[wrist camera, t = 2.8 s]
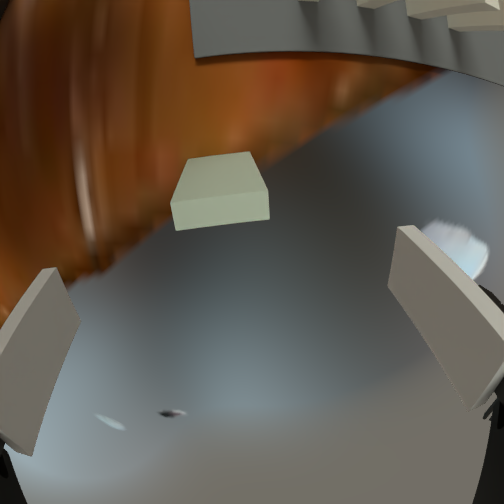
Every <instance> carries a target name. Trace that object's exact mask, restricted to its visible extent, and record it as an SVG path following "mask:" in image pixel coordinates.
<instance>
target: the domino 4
mask: <svg viewBox="0 0 504 504" xmlns="http://www.w3.org/2000/svg"><path fill="white" fill-rule="evenodd" d="M498 2H499V8H500V10H497V11H481V12H470V13H461V14H453V15H447V20H448V28H451V29H453V30H456V31H459V32H463V31H504V0H498Z"/></svg>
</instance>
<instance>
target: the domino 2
mask: <svg viewBox="0 0 504 504" xmlns="http://www.w3.org/2000/svg"><path fill="white" fill-rule="evenodd" d="M356 1H357V6H359V7H366V8H372V9H375V8H378V7H381V6H383V5H386V4H389V3H392V2H394V1H397V0H356Z"/></svg>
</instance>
